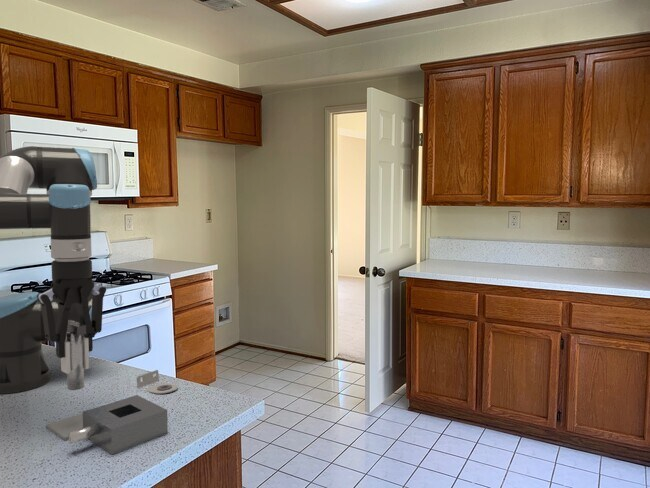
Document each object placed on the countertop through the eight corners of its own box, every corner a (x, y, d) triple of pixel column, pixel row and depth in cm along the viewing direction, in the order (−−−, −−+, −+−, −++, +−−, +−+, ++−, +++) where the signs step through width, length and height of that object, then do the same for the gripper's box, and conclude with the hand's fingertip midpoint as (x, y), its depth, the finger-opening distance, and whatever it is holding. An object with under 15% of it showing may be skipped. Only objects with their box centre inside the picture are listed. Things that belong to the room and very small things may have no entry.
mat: (46, 427, 107) (46, 424, 107) (88, 413, 114) (88, 411, 114) (64, 440, 102) (64, 437, 101) (108, 425, 108) (107, 422, 108)
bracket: (162, 398, 125) (162, 384, 124) (136, 389, 130) (136, 376, 130) (183, 390, 130) (183, 376, 130) (157, 382, 136) (157, 369, 135)
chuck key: (91, 389, 106) (89, 324, 105) (75, 393, 103) (73, 327, 102) (76, 381, 110) (74, 319, 109) (61, 385, 108) (58, 321, 107)
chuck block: (57, 444, 100) (56, 419, 100) (137, 416, 113) (136, 394, 113) (85, 465, 92) (84, 438, 92) (167, 433, 105) (167, 409, 105)
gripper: (36, 264, 96) (41, 384, 98) (118, 257, 108) (121, 364, 110) (21, 260, 101) (26, 375, 103) (101, 254, 113) (104, 357, 115)
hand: (75, 369), depth 107 cm, fingers closed on chuck key, 3 cm apart
